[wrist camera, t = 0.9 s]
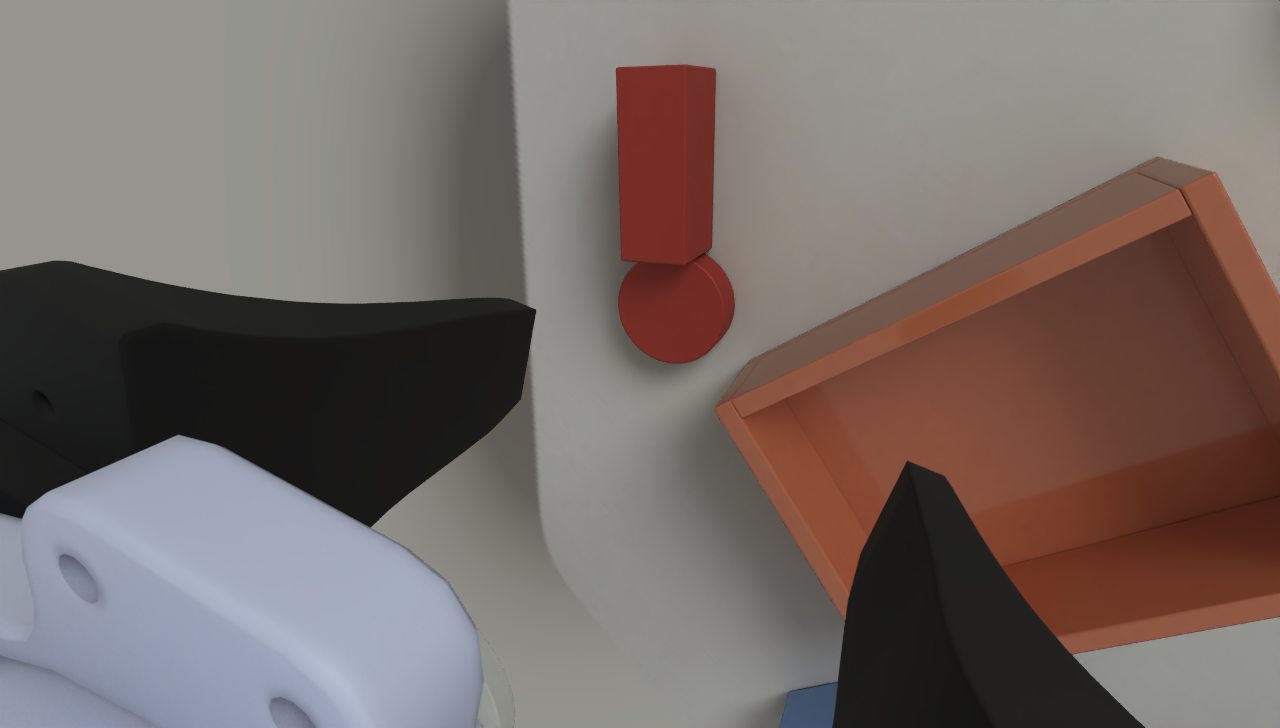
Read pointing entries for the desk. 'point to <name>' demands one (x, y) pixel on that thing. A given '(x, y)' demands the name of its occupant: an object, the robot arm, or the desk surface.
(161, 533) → the robot arm
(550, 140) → the desk surface
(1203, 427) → the terracotta bin
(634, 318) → the red post on disc
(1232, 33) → the desk surface
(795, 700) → the blue disc on block
